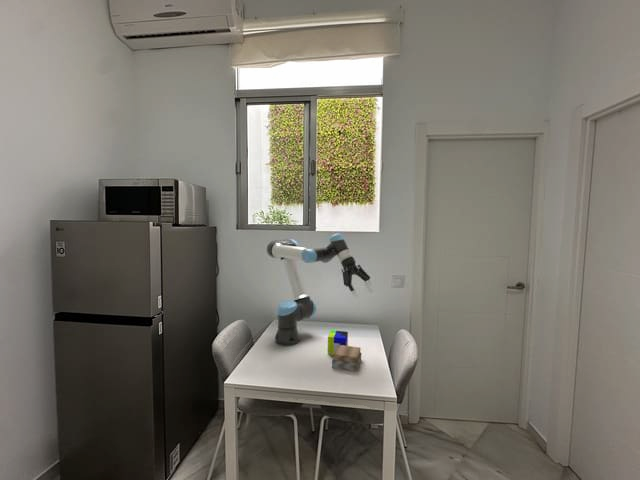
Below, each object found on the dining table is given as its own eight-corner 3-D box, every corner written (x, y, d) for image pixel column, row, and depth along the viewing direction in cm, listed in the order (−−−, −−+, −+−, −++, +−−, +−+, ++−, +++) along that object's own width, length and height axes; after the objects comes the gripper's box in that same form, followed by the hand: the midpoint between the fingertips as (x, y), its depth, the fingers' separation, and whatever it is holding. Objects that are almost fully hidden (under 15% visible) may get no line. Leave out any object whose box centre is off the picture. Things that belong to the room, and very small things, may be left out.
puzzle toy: (345, 355, 170) (345, 338, 169) (327, 354, 172) (327, 336, 171) (347, 348, 179) (347, 331, 179) (330, 346, 181) (330, 330, 181)
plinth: (332, 367, 156) (332, 354, 155) (337, 356, 168) (337, 344, 168) (357, 371, 152) (357, 358, 152) (361, 359, 165) (361, 347, 164)
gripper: (335, 258, 159) (354, 295, 151) (364, 254, 176) (382, 287, 169) (327, 265, 163) (344, 301, 156) (356, 260, 181) (373, 292, 174)
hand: (364, 294), depth 162 cm, fingers open, 13 cm apart
